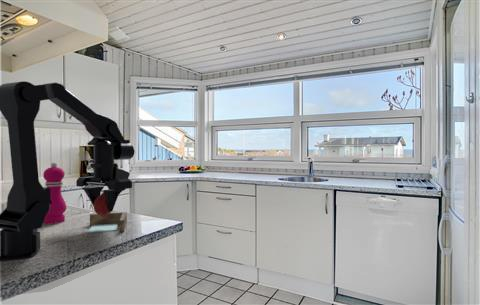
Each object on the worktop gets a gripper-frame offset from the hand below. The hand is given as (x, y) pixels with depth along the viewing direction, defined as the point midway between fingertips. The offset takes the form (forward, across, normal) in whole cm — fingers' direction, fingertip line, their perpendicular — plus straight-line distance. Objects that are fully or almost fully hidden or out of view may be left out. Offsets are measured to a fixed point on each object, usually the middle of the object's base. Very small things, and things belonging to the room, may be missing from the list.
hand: (103, 210), depth 88 cm
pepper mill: (+6, +22, +2) cm, 23 cm away
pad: (+6, 0, 0) cm, 6 cm away
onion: (+2, 0, 0) cm, 2 cm away
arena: (+6, -1, 0) cm, 6 cm away
